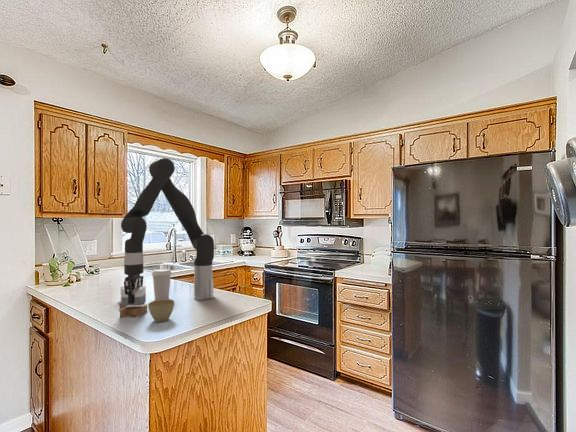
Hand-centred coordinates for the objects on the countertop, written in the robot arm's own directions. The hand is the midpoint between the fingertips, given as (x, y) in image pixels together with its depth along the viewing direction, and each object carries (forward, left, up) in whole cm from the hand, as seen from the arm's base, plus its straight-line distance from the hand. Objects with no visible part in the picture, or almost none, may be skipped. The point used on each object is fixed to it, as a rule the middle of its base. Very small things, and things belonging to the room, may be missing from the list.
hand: (134, 301), depth 135 cm
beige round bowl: (-15, +9, -6) cm, 18 cm away
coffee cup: (-3, -25, -5) cm, 26 cm away
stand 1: (+6, -12, -5) cm, 14 cm away
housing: (0, 0, -1) cm, 1 cm away
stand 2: (0, 0, -5) cm, 5 cm away
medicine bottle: (+13, -26, -6) cm, 30 cm away
